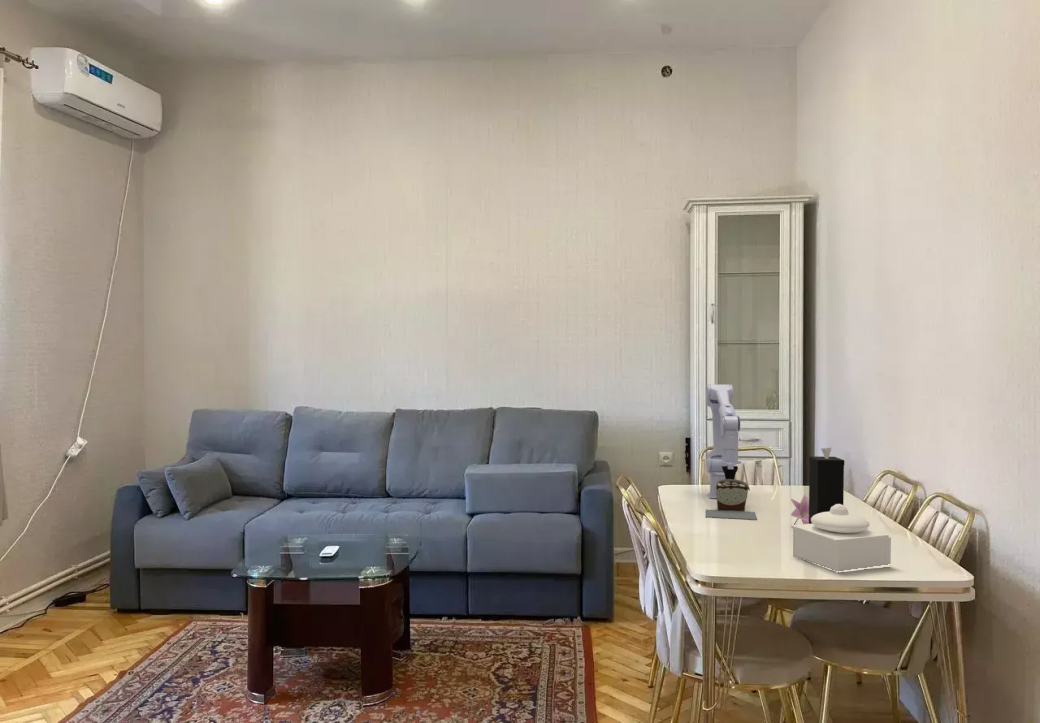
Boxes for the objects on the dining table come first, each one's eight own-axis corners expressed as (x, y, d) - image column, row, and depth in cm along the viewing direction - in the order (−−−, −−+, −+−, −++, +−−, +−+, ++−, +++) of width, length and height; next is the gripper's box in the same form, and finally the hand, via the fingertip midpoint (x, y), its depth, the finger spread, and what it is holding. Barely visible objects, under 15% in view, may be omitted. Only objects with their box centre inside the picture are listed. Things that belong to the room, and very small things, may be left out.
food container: (745, 504, 282) (747, 478, 279) (748, 511, 276) (750, 485, 273) (711, 503, 283) (712, 478, 280) (713, 510, 277) (714, 484, 274)
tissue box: (808, 535, 241) (809, 445, 240) (833, 535, 240) (834, 446, 240) (817, 541, 233) (818, 449, 232) (843, 542, 233) (844, 449, 232)
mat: (705, 510, 277) (705, 509, 277) (754, 512, 273) (754, 511, 273) (705, 517, 266) (705, 516, 266) (757, 520, 262) (757, 519, 262)
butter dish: (890, 568, 206) (891, 508, 206) (836, 574, 200) (836, 513, 200) (842, 551, 223) (843, 496, 222) (791, 556, 217) (791, 500, 216)
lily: (784, 532, 249) (798, 509, 245) (775, 511, 259) (788, 488, 256) (818, 543, 250) (832, 520, 246) (808, 522, 260) (821, 499, 256)
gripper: (742, 451, 273) (742, 490, 273) (740, 446, 287) (740, 483, 287) (721, 451, 275) (721, 489, 275) (720, 446, 289) (720, 482, 289)
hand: (729, 486), depth 281 cm, fingers closed
